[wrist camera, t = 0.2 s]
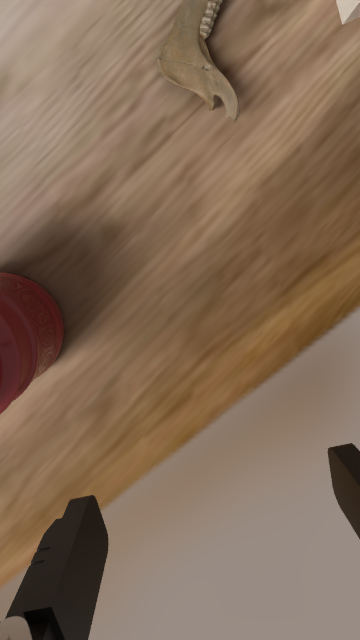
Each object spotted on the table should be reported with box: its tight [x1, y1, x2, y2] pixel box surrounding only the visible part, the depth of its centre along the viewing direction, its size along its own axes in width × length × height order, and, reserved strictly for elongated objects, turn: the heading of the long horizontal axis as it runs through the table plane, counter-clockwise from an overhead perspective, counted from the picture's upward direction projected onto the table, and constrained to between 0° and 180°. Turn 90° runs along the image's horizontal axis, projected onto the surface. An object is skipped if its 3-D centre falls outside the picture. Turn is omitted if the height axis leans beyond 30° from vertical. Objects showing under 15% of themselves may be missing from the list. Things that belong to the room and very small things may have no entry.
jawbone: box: [157, 0, 240, 123], centre depth 31 cm, size 9×20×2 cm, turn 168°
